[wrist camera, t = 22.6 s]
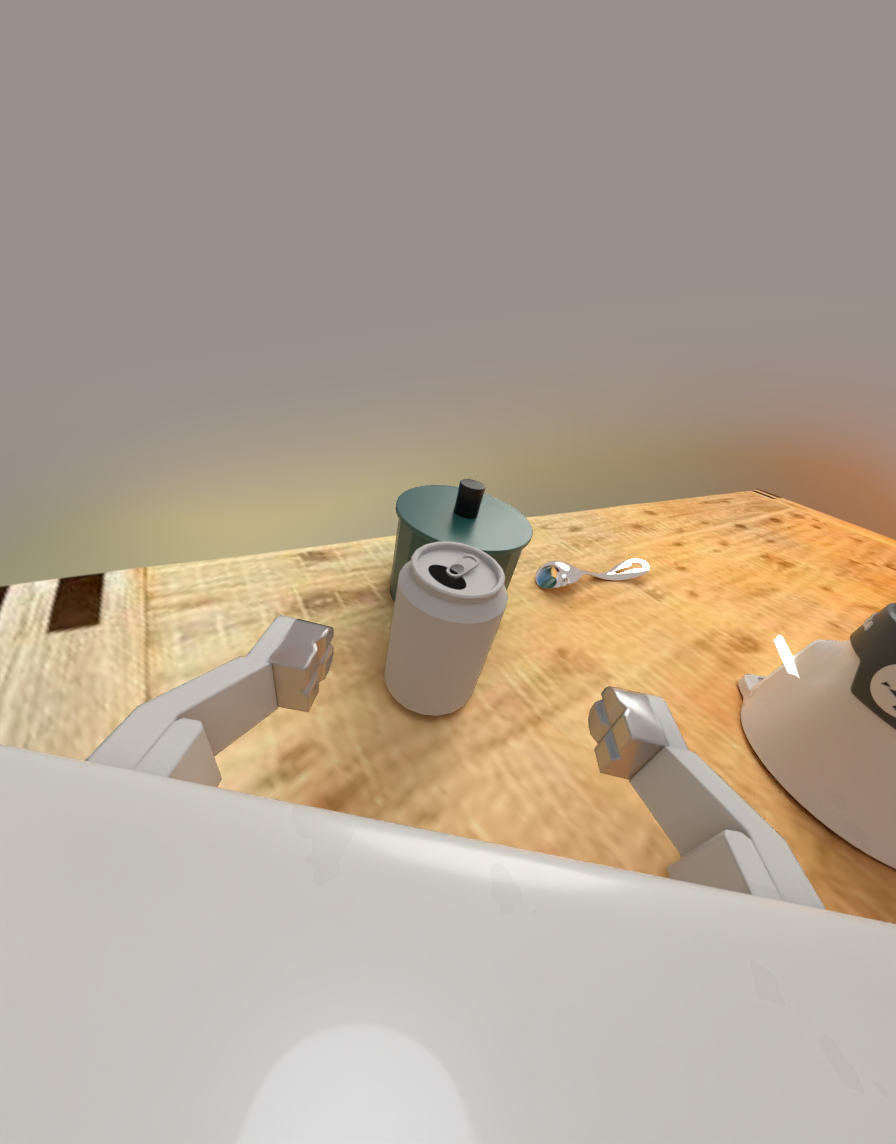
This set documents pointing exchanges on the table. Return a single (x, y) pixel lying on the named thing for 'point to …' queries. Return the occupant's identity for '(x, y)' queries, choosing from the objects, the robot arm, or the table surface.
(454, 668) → the can
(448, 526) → the pot lid
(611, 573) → the silver spoon
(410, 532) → the pot
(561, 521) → the table surface
